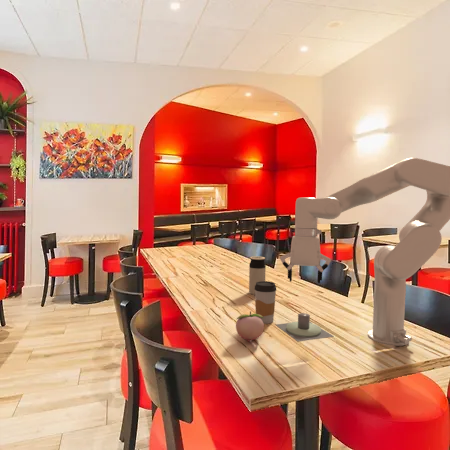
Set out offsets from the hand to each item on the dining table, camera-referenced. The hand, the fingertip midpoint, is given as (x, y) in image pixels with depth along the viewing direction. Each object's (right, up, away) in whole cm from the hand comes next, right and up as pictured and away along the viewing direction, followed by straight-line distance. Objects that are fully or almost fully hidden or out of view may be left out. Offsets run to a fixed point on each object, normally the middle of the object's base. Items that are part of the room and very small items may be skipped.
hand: (304, 281), depth 123 cm
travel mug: (-12, -14, +52) cm, 55 cm away
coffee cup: (-13, -17, +11) cm, 24 cm away
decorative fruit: (-20, -19, -8) cm, 28 cm away
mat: (0, -18, +1) cm, 18 cm away
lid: (0, -17, +1) cm, 18 cm away
